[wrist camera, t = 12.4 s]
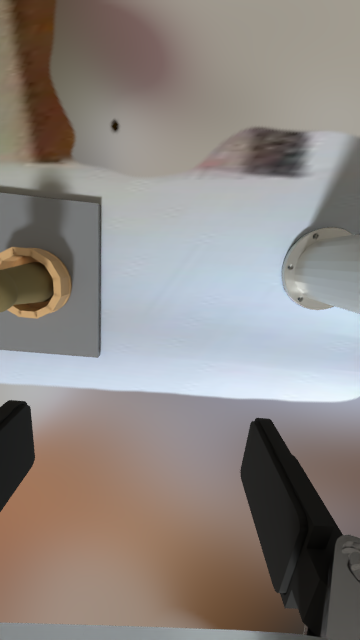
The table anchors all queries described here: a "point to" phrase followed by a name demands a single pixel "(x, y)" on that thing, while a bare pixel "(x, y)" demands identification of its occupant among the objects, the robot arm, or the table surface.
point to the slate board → (78, 256)
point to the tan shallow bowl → (56, 270)
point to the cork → (25, 285)
